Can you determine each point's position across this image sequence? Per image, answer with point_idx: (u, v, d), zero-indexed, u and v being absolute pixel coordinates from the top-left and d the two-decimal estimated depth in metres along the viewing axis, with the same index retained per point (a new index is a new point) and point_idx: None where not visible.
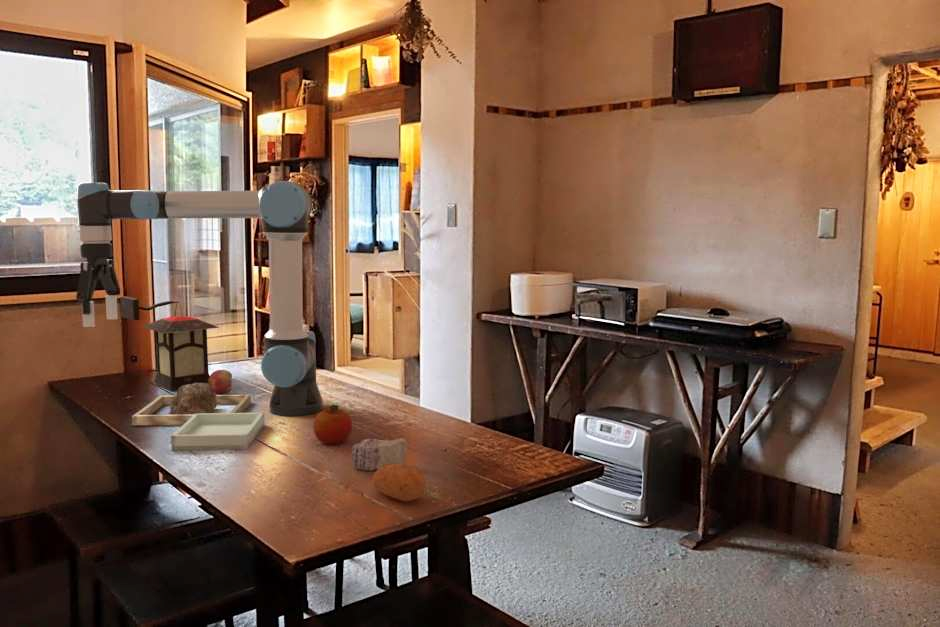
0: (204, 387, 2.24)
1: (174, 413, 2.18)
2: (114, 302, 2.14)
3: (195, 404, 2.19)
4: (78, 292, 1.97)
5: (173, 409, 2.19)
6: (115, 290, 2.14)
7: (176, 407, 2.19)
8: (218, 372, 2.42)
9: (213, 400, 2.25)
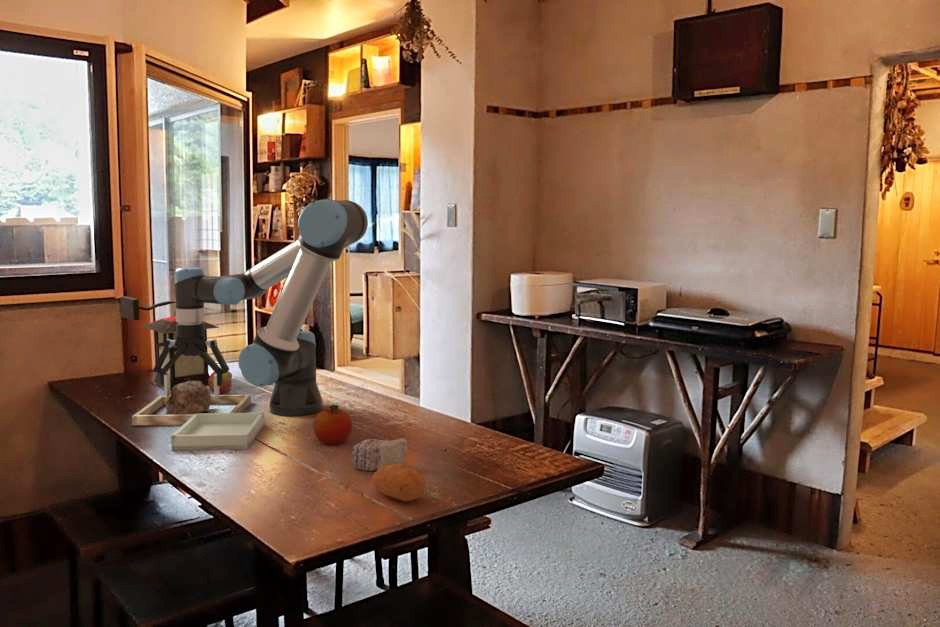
0: (198, 384, 2.25)
1: (171, 411, 2.17)
2: None
3: (192, 401, 2.19)
4: None
5: (170, 408, 2.19)
6: (216, 370, 2.21)
7: (172, 406, 2.19)
8: None
9: (208, 396, 2.26)
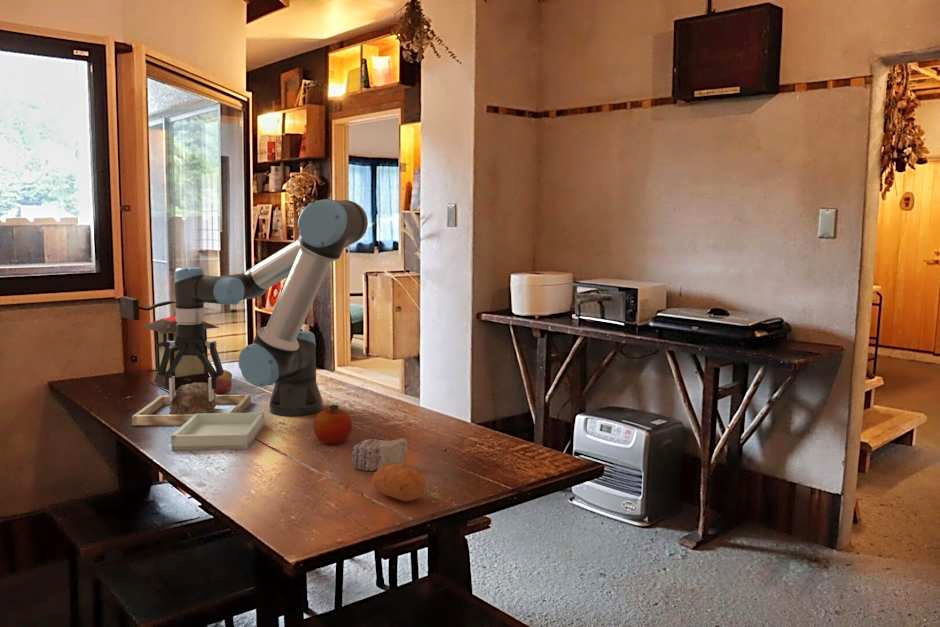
0: (204, 387, 2.24)
1: (175, 413, 2.17)
2: None
3: (196, 404, 2.19)
4: None
5: (173, 409, 2.19)
6: (211, 373, 2.21)
7: (176, 407, 2.19)
8: None
9: (213, 399, 2.26)
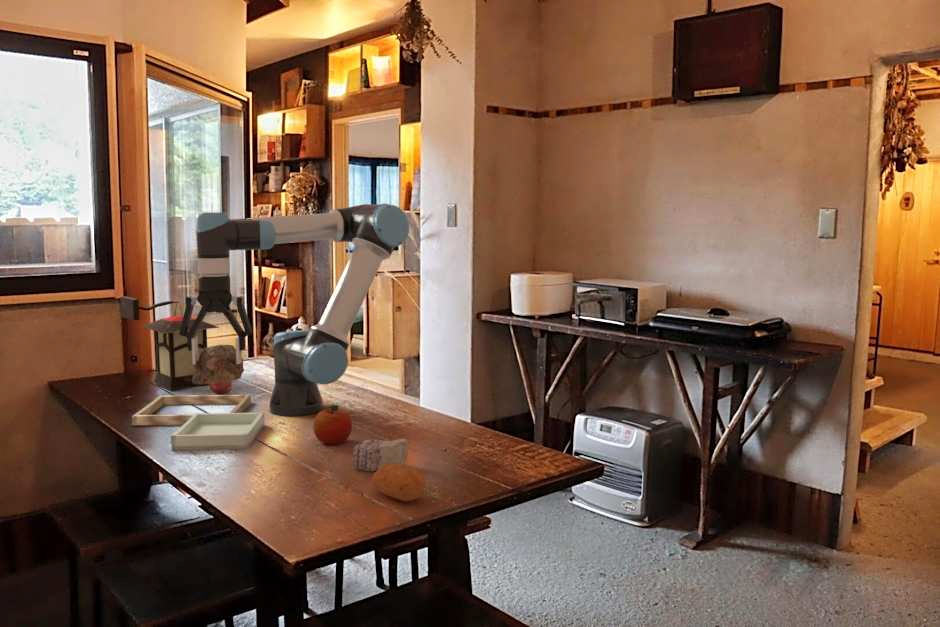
0: (230, 349, 1.99)
1: (199, 377, 1.92)
2: None
3: (222, 367, 1.94)
4: None
5: (197, 373, 1.94)
6: (238, 332, 1.95)
7: (200, 371, 1.94)
8: None
9: (240, 363, 2.00)
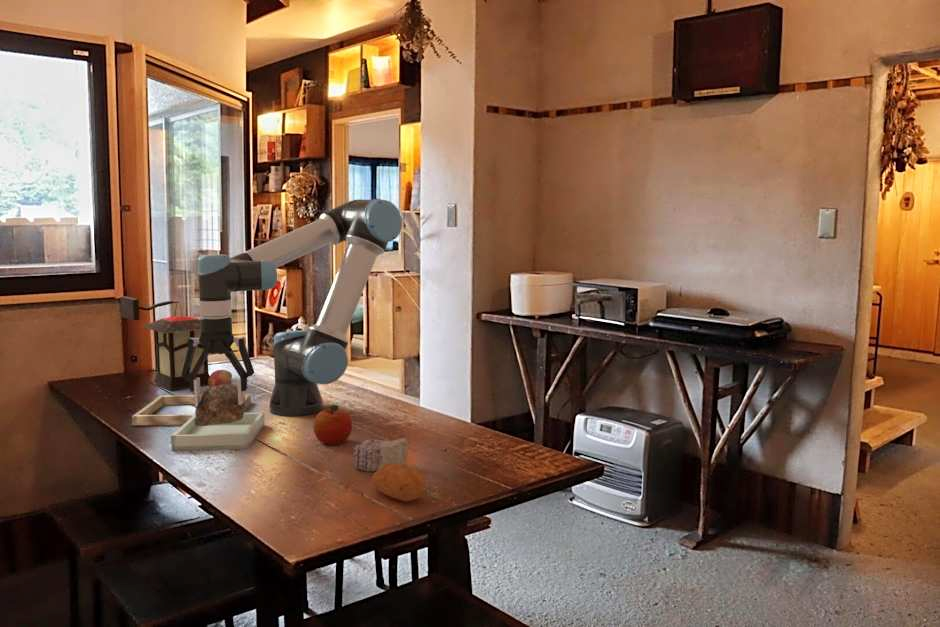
0: (232, 389, 2.01)
1: (201, 419, 1.94)
2: None
3: (224, 409, 1.95)
4: None
5: (199, 414, 1.95)
6: (240, 373, 1.97)
7: (203, 412, 1.95)
8: (218, 372, 2.42)
9: None
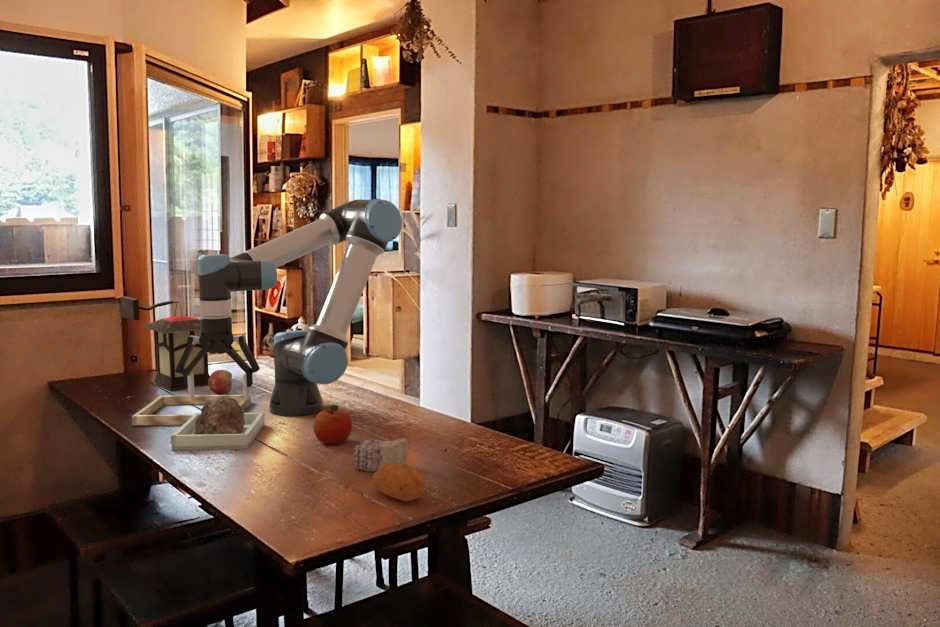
0: (232, 403, 2.01)
1: (201, 433, 1.94)
2: None
3: (224, 423, 1.96)
4: None
5: (199, 428, 1.96)
6: (245, 369, 1.97)
7: (203, 426, 1.96)
8: (218, 372, 2.42)
9: (242, 417, 2.03)
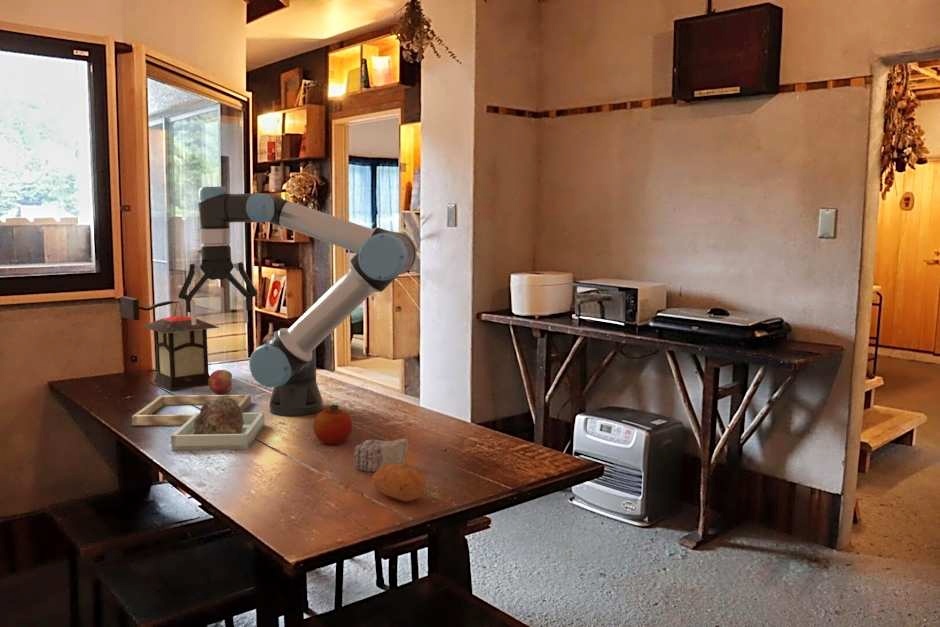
0: (231, 403, 2.01)
1: (201, 433, 1.94)
2: (243, 306, 2.13)
3: (224, 423, 1.96)
4: None
5: (198, 429, 1.96)
6: (245, 294, 2.12)
7: (202, 426, 1.96)
8: (218, 372, 2.42)
9: (241, 417, 2.03)
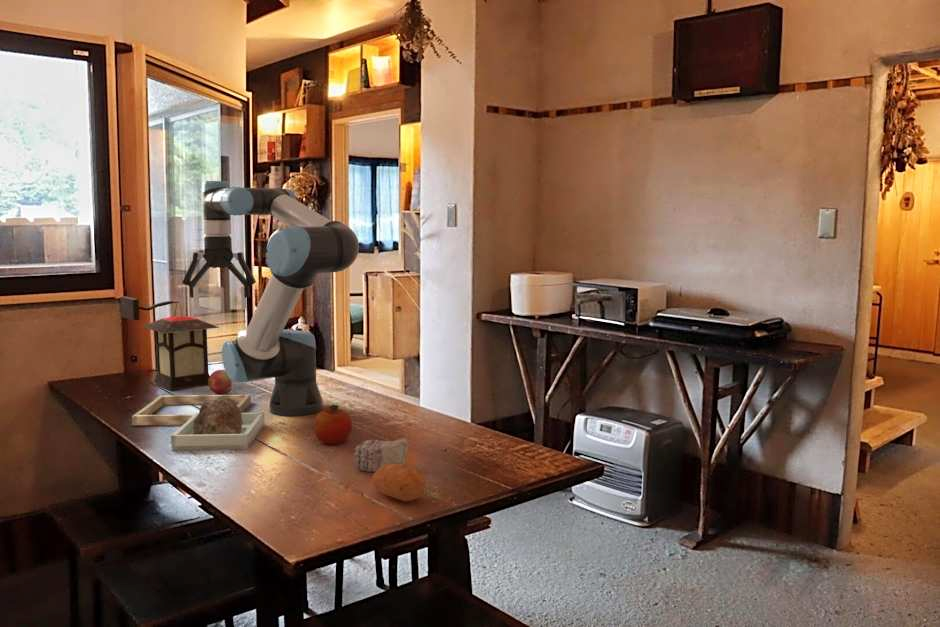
0: (230, 403, 2.01)
1: (200, 433, 1.94)
2: None
3: (223, 423, 1.96)
4: None
5: (198, 429, 1.96)
6: (243, 282, 2.26)
7: (201, 426, 1.96)
8: (218, 372, 2.42)
9: (240, 417, 2.03)
